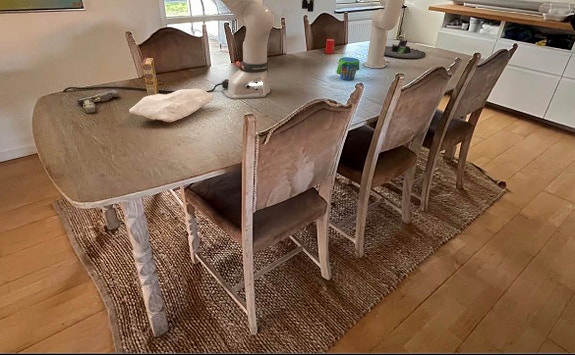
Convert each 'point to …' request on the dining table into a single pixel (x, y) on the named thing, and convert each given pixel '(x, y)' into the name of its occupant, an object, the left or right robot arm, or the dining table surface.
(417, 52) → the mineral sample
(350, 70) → the snack cup
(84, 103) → the handgun
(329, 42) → the canister
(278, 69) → the dining table surface
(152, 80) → the candy box
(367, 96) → the dining table surface
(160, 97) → the crumpled cloth
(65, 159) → the dining table surface
